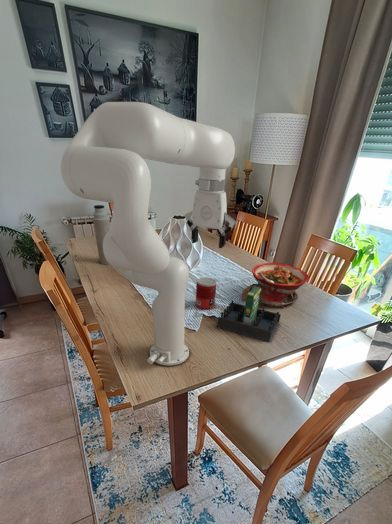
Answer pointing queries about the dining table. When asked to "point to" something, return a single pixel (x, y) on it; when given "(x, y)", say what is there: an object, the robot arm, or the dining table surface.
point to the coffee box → (251, 305)
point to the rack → (258, 329)
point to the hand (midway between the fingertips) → (208, 244)
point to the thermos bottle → (101, 229)
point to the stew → (276, 284)
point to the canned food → (205, 293)
